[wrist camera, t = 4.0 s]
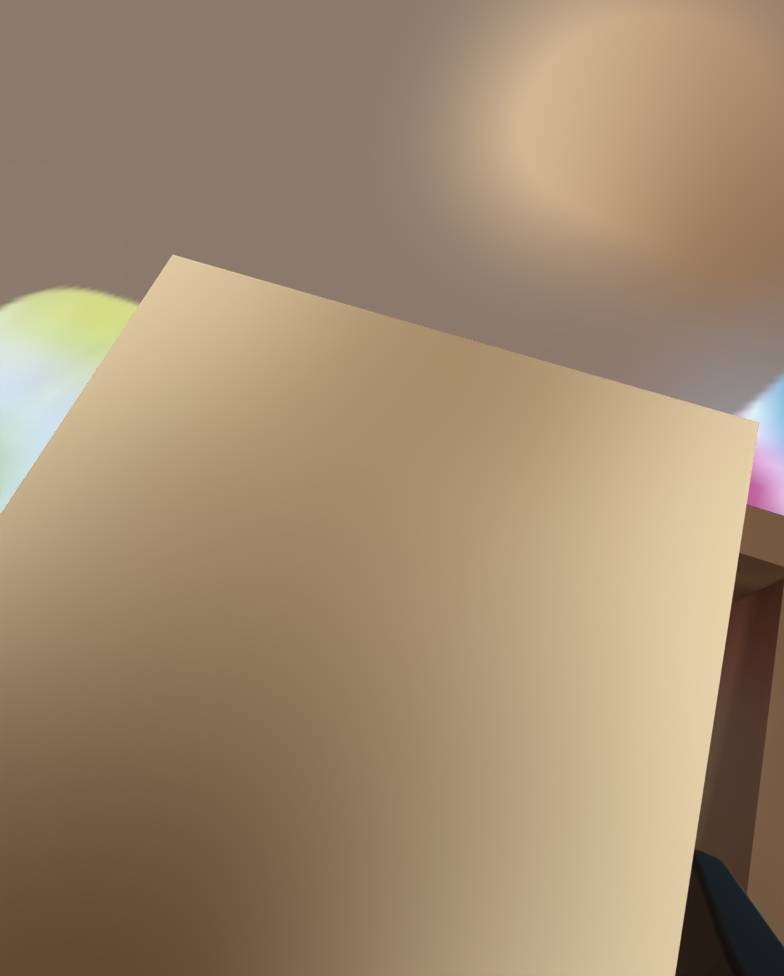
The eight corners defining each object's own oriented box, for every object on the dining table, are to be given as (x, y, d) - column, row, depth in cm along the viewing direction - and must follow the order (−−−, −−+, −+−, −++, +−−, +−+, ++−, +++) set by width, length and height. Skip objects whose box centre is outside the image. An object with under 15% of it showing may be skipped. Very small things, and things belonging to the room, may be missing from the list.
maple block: (503, 671, 17) (760, 423, 5) (444, 880, 15) (623, 1316, 3) (327, 607, 17) (172, 254, 6) (249, 797, 16) (-243, 879, 4)
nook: (763, 587, 17) (859, 538, 14) (714, 966, 14) (824, 1035, 10) (205, 406, 20) (161, 325, 16) (46, 688, 17) (-54, 664, 13)
